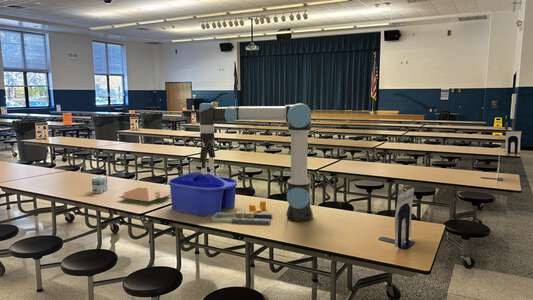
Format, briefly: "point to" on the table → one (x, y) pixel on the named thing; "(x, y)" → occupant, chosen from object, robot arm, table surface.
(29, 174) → the table surface
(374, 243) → the table surface
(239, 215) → the chip
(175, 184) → the caddy
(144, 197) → the house
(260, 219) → the slot rail
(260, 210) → the pipe clamp
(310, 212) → the robot arm
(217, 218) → the tray
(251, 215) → the chip
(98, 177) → the light bulb box
